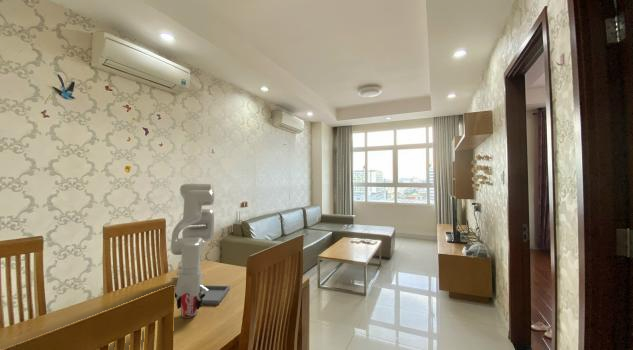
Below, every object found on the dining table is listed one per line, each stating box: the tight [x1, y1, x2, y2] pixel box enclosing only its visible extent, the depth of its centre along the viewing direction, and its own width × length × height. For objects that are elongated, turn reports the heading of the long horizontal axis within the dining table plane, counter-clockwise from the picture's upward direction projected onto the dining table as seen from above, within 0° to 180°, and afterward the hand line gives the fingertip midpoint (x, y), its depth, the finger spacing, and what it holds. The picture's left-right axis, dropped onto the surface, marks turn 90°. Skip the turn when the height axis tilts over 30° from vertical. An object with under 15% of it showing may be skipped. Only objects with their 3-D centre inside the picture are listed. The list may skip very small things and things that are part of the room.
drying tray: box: [201, 284, 231, 306], centre depth 132 cm, size 18×16×2 cm
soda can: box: [180, 293, 199, 319], centre depth 115 cm, size 7×7×12 cm
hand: (189, 307), depth 115 cm, fingers open, 8 cm apart
